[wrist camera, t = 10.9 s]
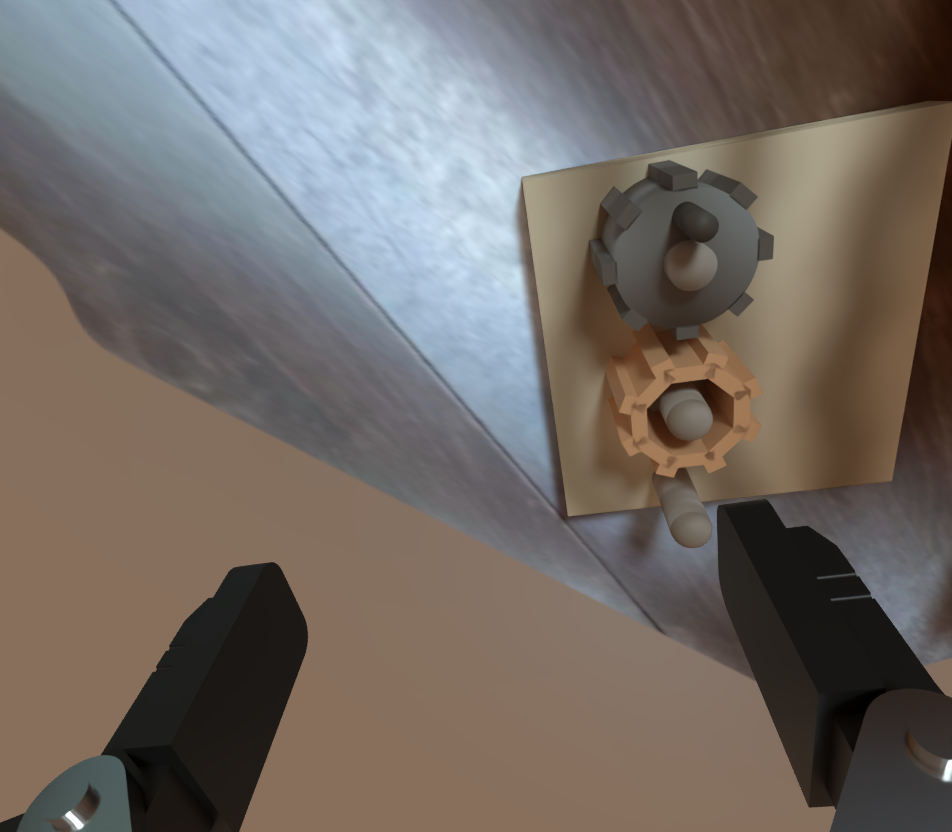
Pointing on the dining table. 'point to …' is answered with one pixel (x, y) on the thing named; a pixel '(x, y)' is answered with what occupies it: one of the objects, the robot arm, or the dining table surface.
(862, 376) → the gear board
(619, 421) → the loose gear
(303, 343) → the dining table surface
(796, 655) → the robot arm
